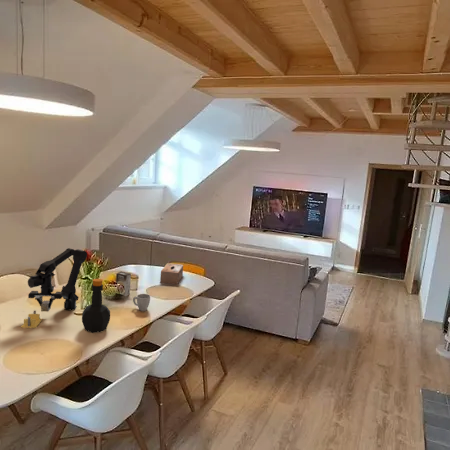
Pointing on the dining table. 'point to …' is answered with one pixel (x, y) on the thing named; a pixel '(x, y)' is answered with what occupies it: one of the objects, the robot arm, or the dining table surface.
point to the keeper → (32, 321)
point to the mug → (142, 301)
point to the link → (45, 306)
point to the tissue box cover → (171, 273)
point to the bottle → (96, 311)
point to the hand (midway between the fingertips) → (46, 308)
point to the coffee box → (124, 281)
